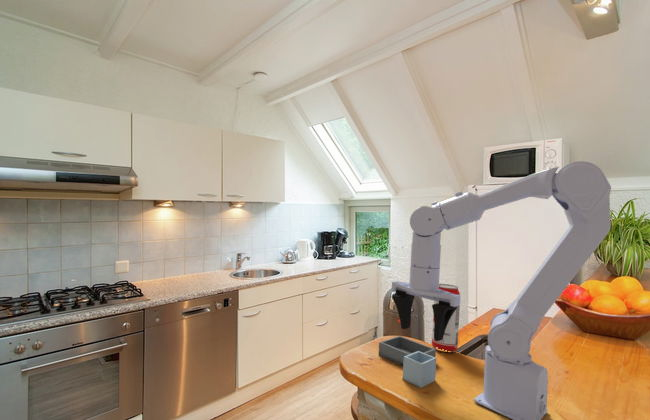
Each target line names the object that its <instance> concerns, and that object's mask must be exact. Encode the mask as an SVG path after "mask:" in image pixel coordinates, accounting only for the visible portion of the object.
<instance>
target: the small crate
mask: <svg viewBox="0 0 650 420" xmlns="http://www.w3.org/2000/svg"><path fill="white" fill-rule="evenodd" d="M436 371H437V358H436V357H432V356H430V355H427V354H425V353H422V352H420V351H417V352H414V353H412V354H409V355H407V356H404V362H403V366H402V380H404V381H405V382H408V383H409V384H412V385H414V386H415V387H417V388H420V389H422V388H424V387H426V386H429V384H432V383H434V382H435V381H436V373H437V372H436Z"/></svg>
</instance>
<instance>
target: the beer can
mask: <svg viewBox="0 0 650 420" xmlns="http://www.w3.org/2000/svg"><path fill="white" fill-rule="evenodd" d="M439 289H441V290H444V291H447V292H450V293H453V294H456V295H460V296H461V293H460V290H459V287H458V286H457V285H453V284H449V283H447V284H445V283H439ZM437 303H438V304H439V302H437V301H434V300H433V304H437ZM460 308H461V305H460V306H457V309H456V310H455V312H454V313H453V315H452V316H451V318H450V320H449V322H448V324H447V327H446V330H445V333H444V336H443V340H440V341H435V340H434V313H433V312H432V325H431V326H432V327H431V346H432V347H433V346H434V347H433V348H434V349H435V348H436V347H438V349H441V350H442V349H444V351H445V350H447V352H448V351H451V352H453V353H455V352H456V351H457V350H458V348H459V328H460V327H459V326H460V311H461V310H460Z"/></svg>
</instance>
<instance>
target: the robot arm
mask: <svg viewBox="0 0 650 420" xmlns="http://www.w3.org/2000/svg"><path fill="white" fill-rule="evenodd" d="M559 168H560V166H555V167H551V168H547V169H545V170H541V171H538V172H534V173H532V174H528V175H527V176H523V177H521V178H519V179H517V180H514V181H512V182H508V183H506V184H503V185H501V186H498V187H496V188H494V189H492V190H489V191H486V192H484V193H480V194H479V195H478V194H475V193H473V192H469V191H467V192H464V193H463V191H462V190H461V191H457V192H455V193H454V195H455V196H453V197H451V198H448V199H445V200H443V201H439V202H438V201H432V202H431V206H427V205H422V206H421V205H420V207H419V208H417V209H415V210H414V211H413V212H412V213H411V215H410V217H409V224H410V228H411V230H412V237H411V239H412V242H411V246H410V248H411V249H410V251H411V252H410V268H409V269H410V270H409V282H404V281H399V280H397V281H391V291H392V292H394V293H393V294H391V299H392V301H393V303H394V304H395V307H396V310H397V313H398V317H399V322H400V327H401V328H400V329H401V330H402V329H403V330H406V329H409V328H411V322H412V321H411V320H412V309H413V303H414V300H415V297H418V298H422V299H426V300H430V301H433V302H434V301H437V302H439V304H438V303H437V304H434V303H433V304H431V307H432V314H433V313H434V340H435V341H440V340H443V336H444V333H445V330H446V327H447V324H448V322H449V320H450V318H451V316H452V315H453V313H454V312H455V310H456V309H457V306H460V307H461V294H460V295H456V294H453V293H450V292H447V291H444V290H441V289H439V284H440V273H441V272H440V271H441V270H440V269H441V268H440V267H441V249H442V248H441V247H442V245H441V237H442V236H441V233H442V231H444V230H447V231H449V230H452V229H456V228H458V227H462V226H465V225H468V224H471V223H473V222H476V221H479V220H481V219H482V216H483V214H484V213H485V211H487V210H491V209H494V208H498V207H501V206H504V205H507V204H511V203H514V202H517V201H521V200H524V199H527V198H536V199H543V200H548V199H550V198H551V197H553V199H554V200H555V201H556V202H557V203H558V204H559V205H560V207H562V209H563V211H564V214H565V216H566V219H567V223H568V224H569V226H568V228H567V229H566V230H565V232H564V233H563V235H562V236H561V238H559V240H558V241H557V243H556V244H555V246H554V247H553V248H552V249H551V251H550V252H549V254H548V255H547V257H546V258H545V259H544V261H543V262H542V263H541V265H540V266H539V267H538V268H537V270H536V271H535V272H534V274H533V275H532V277H531V278H530V279H529V281H528V282H527V283H526V285H525V287H524V288H523V289H522V290H521V291H520V293H519V294H518V296H517V297H516V298H515V299H514V300H513V301H512V302H511V303H510V304H509V305H508V307H506V309H505V310H503V311H501V312H499V313H496V314H495V315H494V316H493V317H492V319H491V321H490V329H489V330H488V334H487V344H488V345H486V346H485V356H484V374H483V375H484V376H483V392H481V393H480V394H479V395H477V396H476V397H475V398H473V401H474V402H475V403H476V404H478V405H481V406H483V407H485V408H487V409H489V410H492V411H494V412H496V413H498V414H500V415H503V416H504V417H506V418H508V419H511V420H542V419H543V418H544V417H545V416H546V415H547V414H548V412H547V411H548V408H547V407H548V405H547V404H548V388H549V387H548V384H549V375H548V369H547V368H546V367H545V366H543V365H541V364H539V363H536V362H535V361H533V359H532V355H531V353H530V351H531V347H532V346H531V345H532V343H531V342H532V339H533V337H534V335H535V334H536V333H537V332H538V329H539V327H540V325H541V322H542V320H543V318H544V317H545V315H546V314H547V313H548V312H549V310H550V309H551V308H552V306H553V305H554V304H555V303H556V301H557V300H558V298H559V297H560V296H561V294H562V293H564V291H565V289H566V288H567V287H568V286H569V284H570V283H571V282H572V280H573V279H574V278H575V277H576V275H577V274H578V273H579V272H580V270H581V269H582V267H583V266H584V265H585V263H586V262H587V261H588V260H589V259H590V257H591V256H592V255H593V254H594V252H596V249H597V248H598V247H599V246H600V244H601V243H602V242H603V240H604V239H605V238H606V237H607V235H608V234H609V232H610V230H611V228H612V226H611V225H612V224H611V203H610V201H611V200H610V197H611V191H612V185H611V184H610V182H609V181H608V179H607V177H606V175H605V174H604V172H603V170H602V168H601V167H599V166H597V164H594V163H593V162H589V161H584V160H579V161H572V162H569V163H568V164H566V165H564V166H562V167H561V168H560V169H559ZM557 171H558V172H557ZM545 414H546V415H545ZM544 415H545V416H544ZM543 416H544V417H543Z"/></svg>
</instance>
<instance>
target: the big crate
mask: <svg viewBox="0 0 650 420" xmlns="http://www.w3.org/2000/svg"><path fill="white" fill-rule="evenodd" d="M417 351H420V352H422V353H425V354H427V355H430V356H432V357H435V358H436V355H437V350H436V349H435V348H434V347H431V346H428V345H425V344H423V343H421V342H417V341H416V340H415V341H414V340H413V339H409V338H406V337H404V336H403V335H397V336H395V337H391V338H388V339H385V340H382V341H381V340H380V341H379V343H378V356H380V357H382V358H384V359H386V360H389V361H391V362H394V363H395V364H398V365H399V366H402V367H403V362H404V356H407V355H409V354H412V353H414V352H417Z"/></svg>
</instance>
